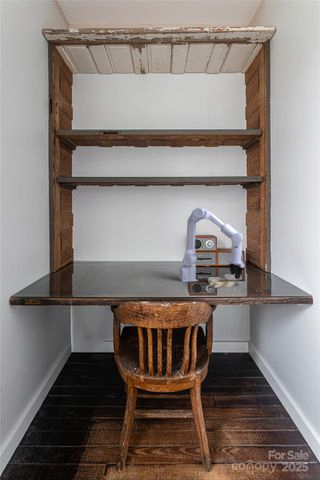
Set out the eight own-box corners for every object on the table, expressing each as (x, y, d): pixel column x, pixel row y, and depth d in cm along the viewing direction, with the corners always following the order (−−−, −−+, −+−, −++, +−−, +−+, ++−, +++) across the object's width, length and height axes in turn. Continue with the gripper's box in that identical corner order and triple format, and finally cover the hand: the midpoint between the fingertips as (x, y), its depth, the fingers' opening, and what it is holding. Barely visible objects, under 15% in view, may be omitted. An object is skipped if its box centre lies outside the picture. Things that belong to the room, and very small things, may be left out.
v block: (211, 283, 179) (211, 279, 179) (207, 281, 183) (208, 277, 183) (224, 282, 181) (224, 278, 181) (220, 281, 186) (220, 276, 185)
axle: (227, 282, 174) (227, 275, 173) (223, 280, 178) (224, 273, 177) (241, 281, 176) (242, 274, 176) (237, 279, 180) (238, 272, 180)
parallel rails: (214, 287, 170) (214, 283, 170) (209, 284, 177) (209, 280, 177) (234, 286, 173) (234, 281, 173) (228, 283, 180) (228, 279, 180)
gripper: (249, 255, 170) (248, 280, 171) (236, 252, 184) (235, 274, 185) (238, 256, 168) (237, 280, 169) (225, 252, 182) (224, 275, 183)
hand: (235, 277), depth 177 cm, fingers closed on axle, 4 cm apart
